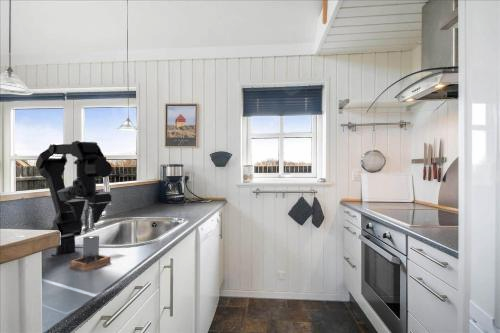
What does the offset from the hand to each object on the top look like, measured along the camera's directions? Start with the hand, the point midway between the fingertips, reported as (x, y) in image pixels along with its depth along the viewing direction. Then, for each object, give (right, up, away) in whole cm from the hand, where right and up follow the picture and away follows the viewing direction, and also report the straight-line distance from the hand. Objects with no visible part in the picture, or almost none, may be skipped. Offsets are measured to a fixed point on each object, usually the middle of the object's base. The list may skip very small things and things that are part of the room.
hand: (86, 222), depth 90 cm
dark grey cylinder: (+6, -12, -7) cm, 15 cm away
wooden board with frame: (+7, -13, -4) cm, 15 cm away
